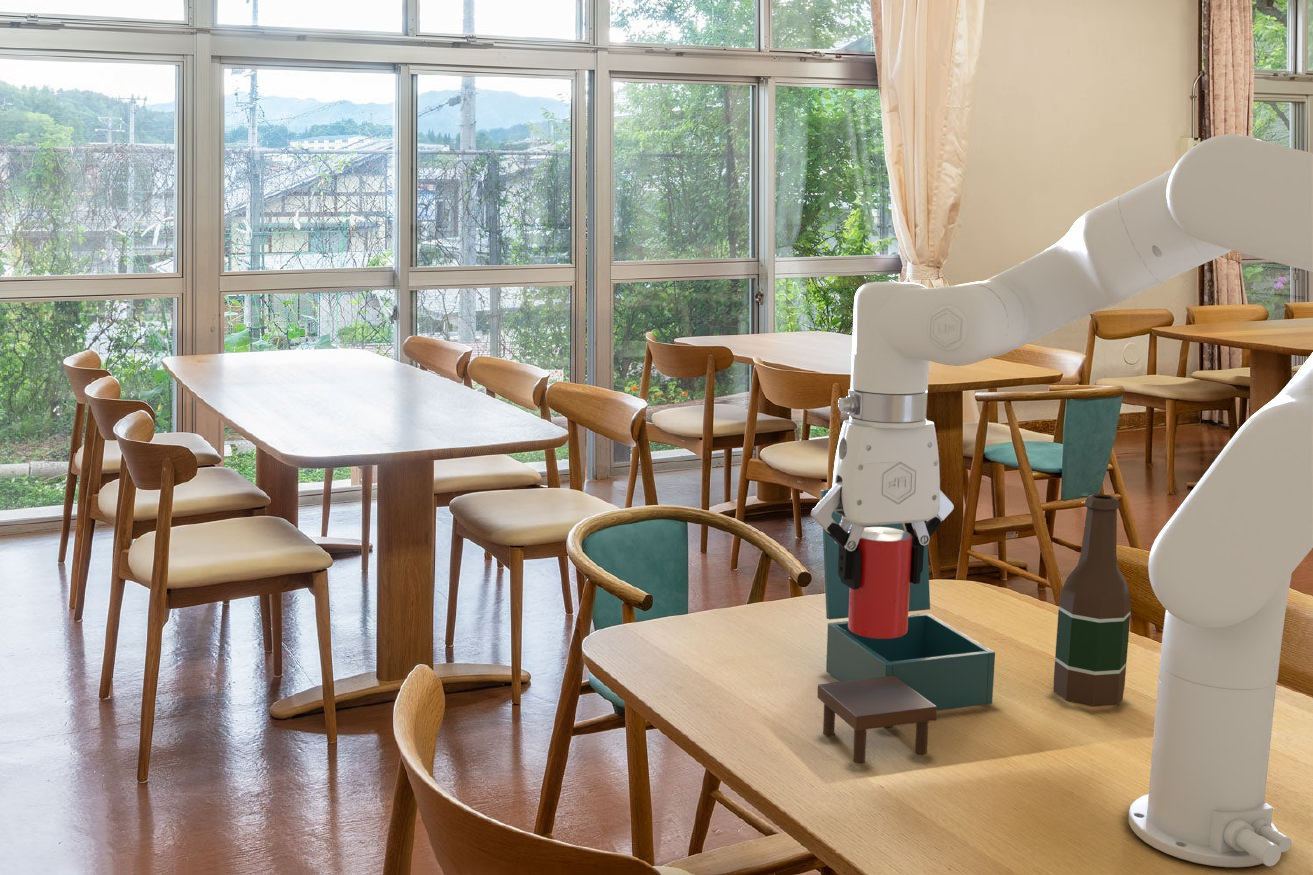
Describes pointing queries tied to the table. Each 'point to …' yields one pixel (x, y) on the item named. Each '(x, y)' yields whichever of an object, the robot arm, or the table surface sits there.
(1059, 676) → the beer bottle
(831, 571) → the lid
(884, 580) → the soda can
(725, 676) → the table surface
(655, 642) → the table surface
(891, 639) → the teal open box
